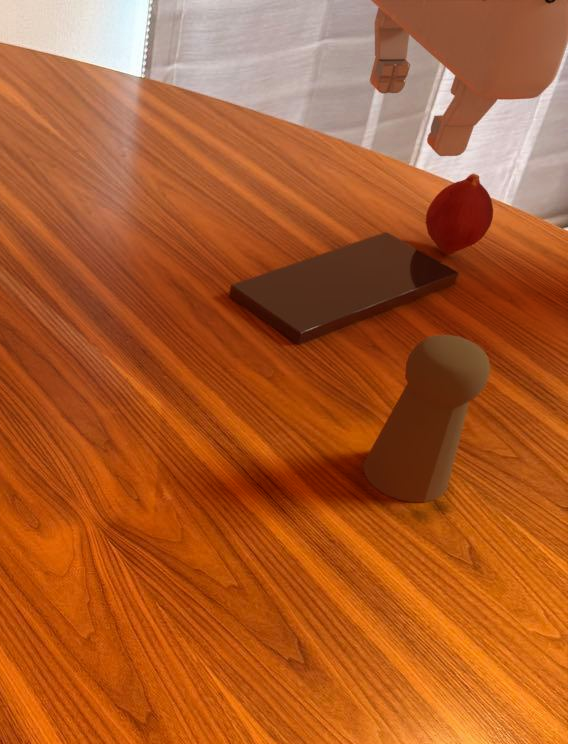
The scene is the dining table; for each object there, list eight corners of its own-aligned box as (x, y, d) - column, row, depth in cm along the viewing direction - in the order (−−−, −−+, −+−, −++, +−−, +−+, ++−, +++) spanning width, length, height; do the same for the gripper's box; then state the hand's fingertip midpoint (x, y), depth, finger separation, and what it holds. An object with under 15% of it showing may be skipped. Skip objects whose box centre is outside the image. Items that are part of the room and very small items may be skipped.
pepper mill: (359, 444, 74) (402, 318, 66) (440, 452, 73) (494, 326, 65) (367, 497, 69) (415, 369, 62) (454, 507, 69) (513, 379, 61)
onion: (413, 235, 97) (439, 156, 92) (473, 242, 97) (503, 163, 91) (417, 263, 93) (445, 182, 88) (480, 271, 93) (512, 190, 87)
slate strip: (382, 242, 96) (386, 231, 95) (455, 284, 91) (459, 272, 90) (228, 296, 88) (230, 284, 87) (297, 345, 83) (301, 332, 82)
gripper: (664, -105, 43) (541, 193, 53) (469, -188, 58) (400, 59, 67) (530, -105, 43) (430, 197, 52) (366, -189, 57) (312, 60, 67)
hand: (412, 118), depth 60 cm, fingers open, 8 cm apart
